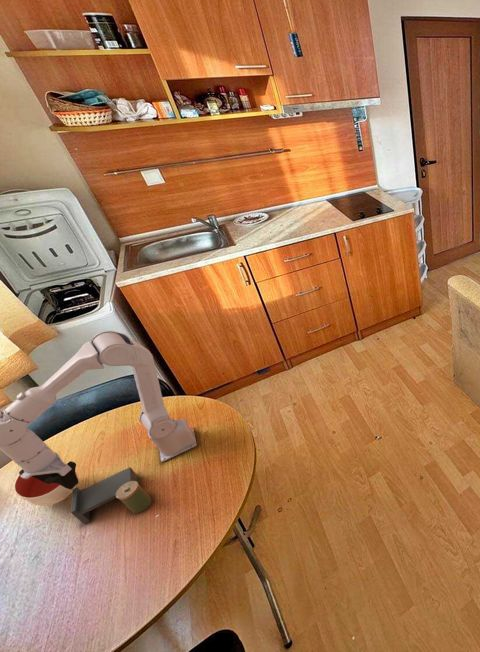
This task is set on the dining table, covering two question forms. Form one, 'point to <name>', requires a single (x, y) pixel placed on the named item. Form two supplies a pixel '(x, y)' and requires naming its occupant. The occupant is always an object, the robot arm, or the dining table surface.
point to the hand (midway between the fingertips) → (63, 482)
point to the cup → (40, 491)
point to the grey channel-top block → (99, 494)
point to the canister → (133, 496)
